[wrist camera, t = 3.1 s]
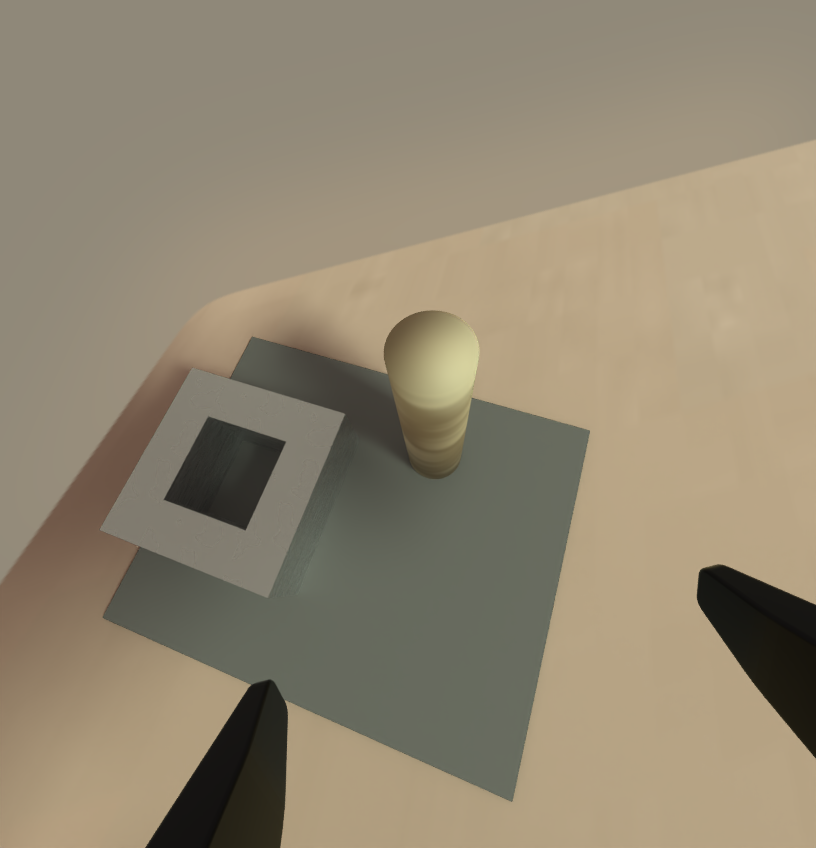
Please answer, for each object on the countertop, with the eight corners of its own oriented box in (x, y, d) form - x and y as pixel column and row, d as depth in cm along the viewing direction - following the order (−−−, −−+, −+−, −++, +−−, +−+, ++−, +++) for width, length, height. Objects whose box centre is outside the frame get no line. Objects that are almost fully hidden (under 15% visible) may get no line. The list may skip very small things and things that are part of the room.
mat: (588, 431, 24) (589, 430, 24) (511, 799, 18) (512, 801, 18) (253, 338, 28) (252, 336, 27) (105, 617, 22) (102, 617, 22)
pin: (467, 437, 24) (490, 322, 13) (452, 486, 23) (463, 405, 12) (418, 422, 24) (401, 301, 14) (401, 469, 24) (370, 379, 13)
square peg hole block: (359, 439, 24) (345, 413, 21) (297, 594, 22) (267, 598, 18) (227, 397, 26) (192, 367, 22) (154, 537, 23) (99, 530, 19)
